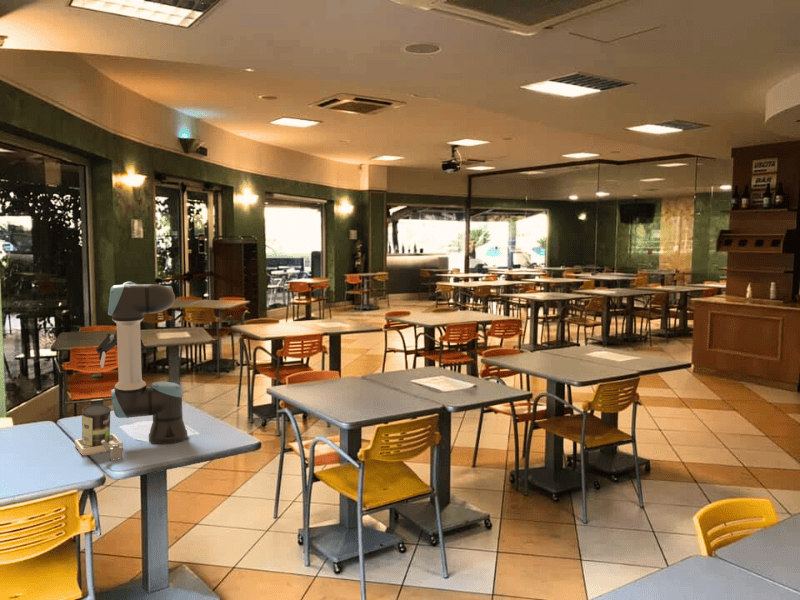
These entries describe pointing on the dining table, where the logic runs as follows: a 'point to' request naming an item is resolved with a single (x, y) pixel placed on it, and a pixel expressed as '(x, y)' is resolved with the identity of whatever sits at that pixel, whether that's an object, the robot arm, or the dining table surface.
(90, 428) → the coffee can
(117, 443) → the pocket tray
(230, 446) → the dining table surface
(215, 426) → the dining table surface
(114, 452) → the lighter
